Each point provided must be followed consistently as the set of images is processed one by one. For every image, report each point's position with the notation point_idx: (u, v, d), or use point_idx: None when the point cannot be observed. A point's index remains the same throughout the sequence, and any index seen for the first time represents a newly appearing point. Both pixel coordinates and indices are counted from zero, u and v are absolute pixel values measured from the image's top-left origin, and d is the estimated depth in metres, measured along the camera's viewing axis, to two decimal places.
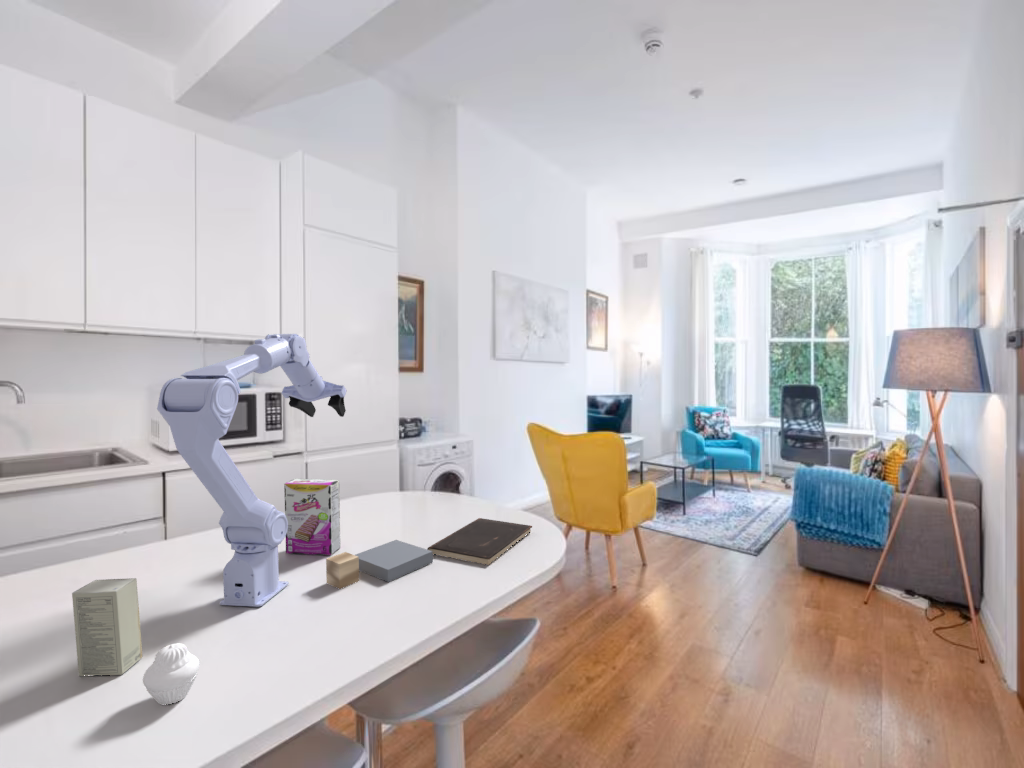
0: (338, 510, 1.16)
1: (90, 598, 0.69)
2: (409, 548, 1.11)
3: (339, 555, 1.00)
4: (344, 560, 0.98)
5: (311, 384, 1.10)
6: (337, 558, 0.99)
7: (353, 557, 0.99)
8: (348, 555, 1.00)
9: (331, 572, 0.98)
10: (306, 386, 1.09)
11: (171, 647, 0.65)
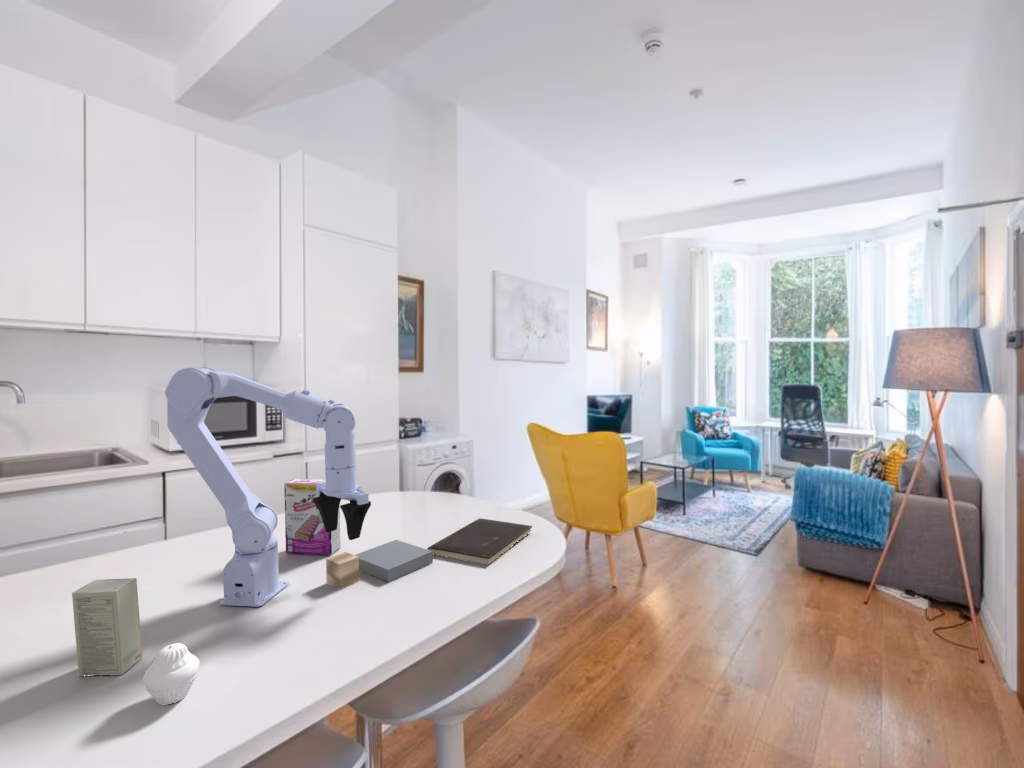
0: None
1: (90, 598, 0.69)
2: (409, 548, 1.11)
3: (339, 555, 1.00)
4: (344, 560, 0.98)
5: (338, 472, 0.96)
6: (337, 558, 0.99)
7: (354, 557, 0.99)
8: (348, 555, 1.00)
9: (331, 572, 0.98)
10: (332, 470, 0.96)
11: (171, 647, 0.65)
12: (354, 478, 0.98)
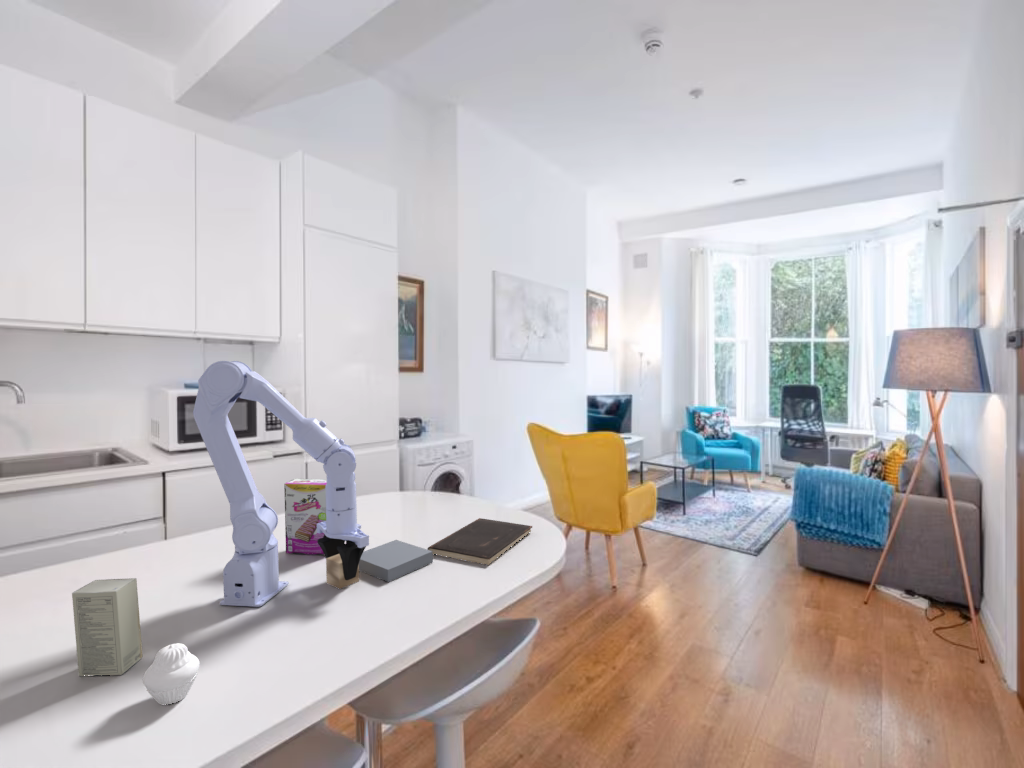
0: None
1: (90, 598, 0.69)
2: (409, 548, 1.11)
3: (339, 555, 1.00)
4: None
5: (339, 514, 0.96)
6: (337, 558, 0.99)
7: None
8: None
9: (331, 572, 0.98)
10: (333, 512, 0.96)
11: (171, 647, 0.65)
12: (355, 519, 0.98)
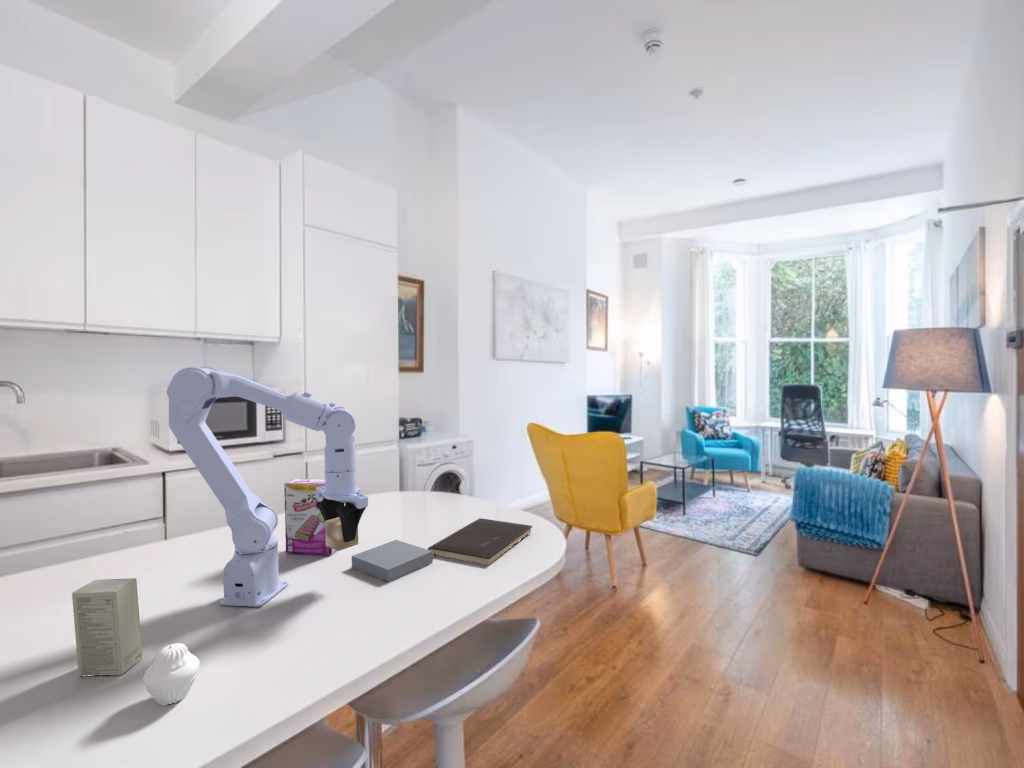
0: None
1: (90, 598, 0.69)
2: (409, 548, 1.11)
3: (338, 518, 1.00)
4: None
5: (338, 475, 0.96)
6: (336, 520, 0.99)
7: None
8: None
9: (331, 534, 0.97)
10: (332, 474, 0.96)
11: (171, 647, 0.65)
12: (354, 481, 0.98)
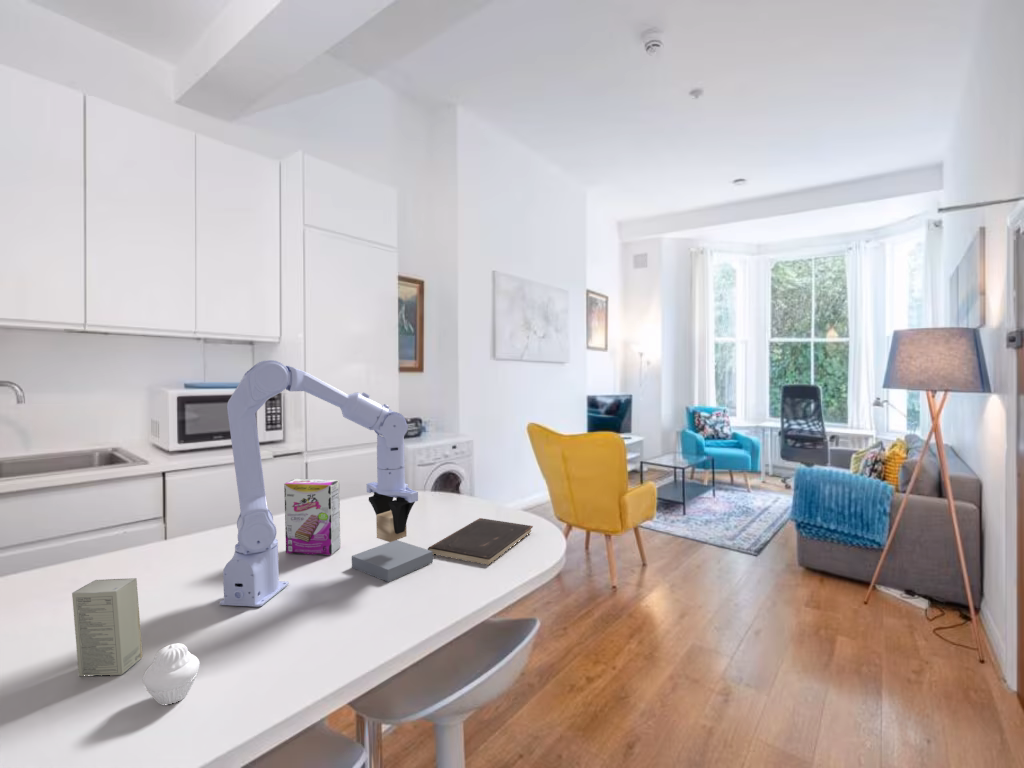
0: (338, 510, 1.16)
1: (90, 598, 0.69)
2: (409, 548, 1.11)
3: (387, 512, 1.08)
4: None
5: (390, 472, 1.04)
6: (386, 514, 1.07)
7: None
8: None
9: (382, 527, 1.06)
10: (385, 471, 1.04)
11: (171, 647, 0.65)
12: (403, 478, 1.06)
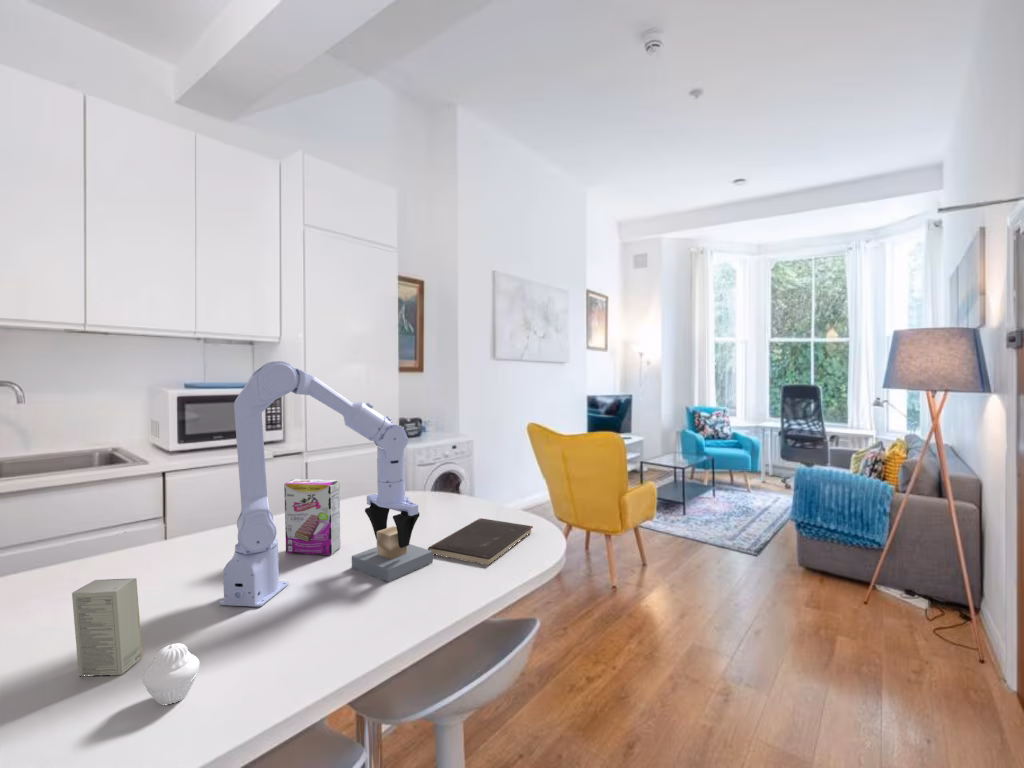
0: (338, 510, 1.16)
1: (90, 598, 0.69)
2: (409, 548, 1.11)
3: (388, 528, 1.08)
4: (393, 533, 1.06)
5: (390, 485, 1.04)
6: (387, 531, 1.07)
7: None
8: (396, 528, 1.08)
9: (382, 544, 1.06)
10: (385, 483, 1.04)
11: (171, 647, 0.65)
12: (404, 490, 1.06)
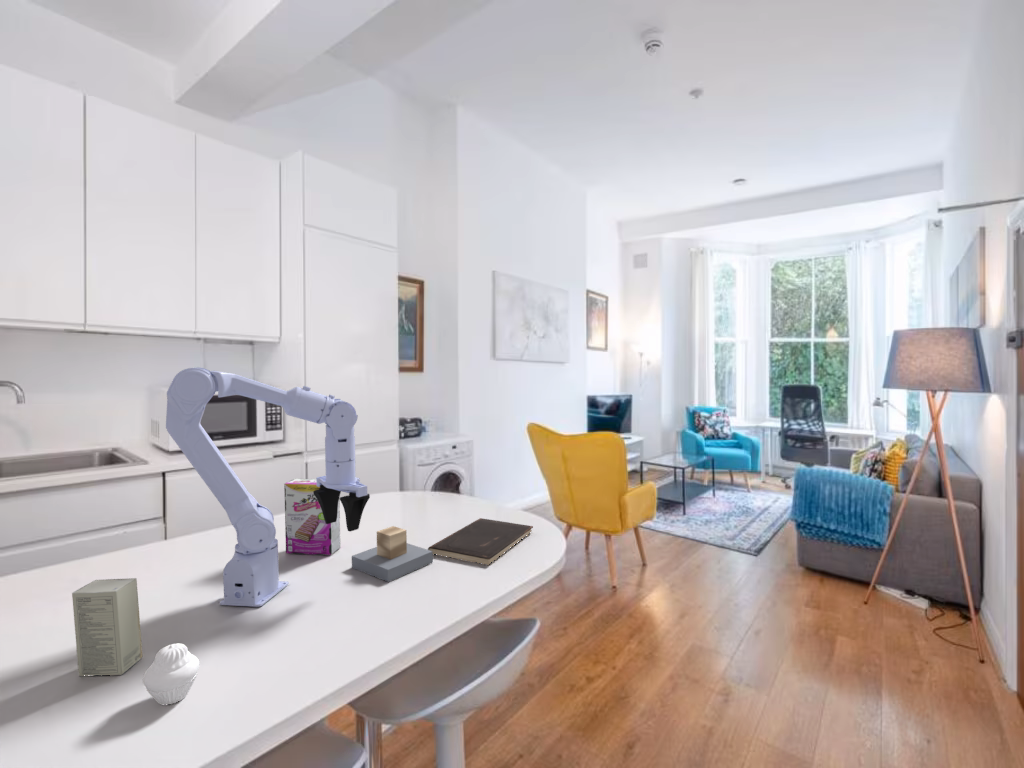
0: (338, 510, 1.16)
1: (90, 598, 0.69)
2: (409, 548, 1.11)
3: (388, 528, 1.08)
4: (393, 533, 1.06)
5: (338, 465, 0.98)
6: (387, 531, 1.07)
7: (402, 530, 1.07)
8: (396, 528, 1.08)
9: (382, 544, 1.06)
10: (332, 463, 0.98)
11: (171, 647, 0.65)
12: (353, 471, 1.01)
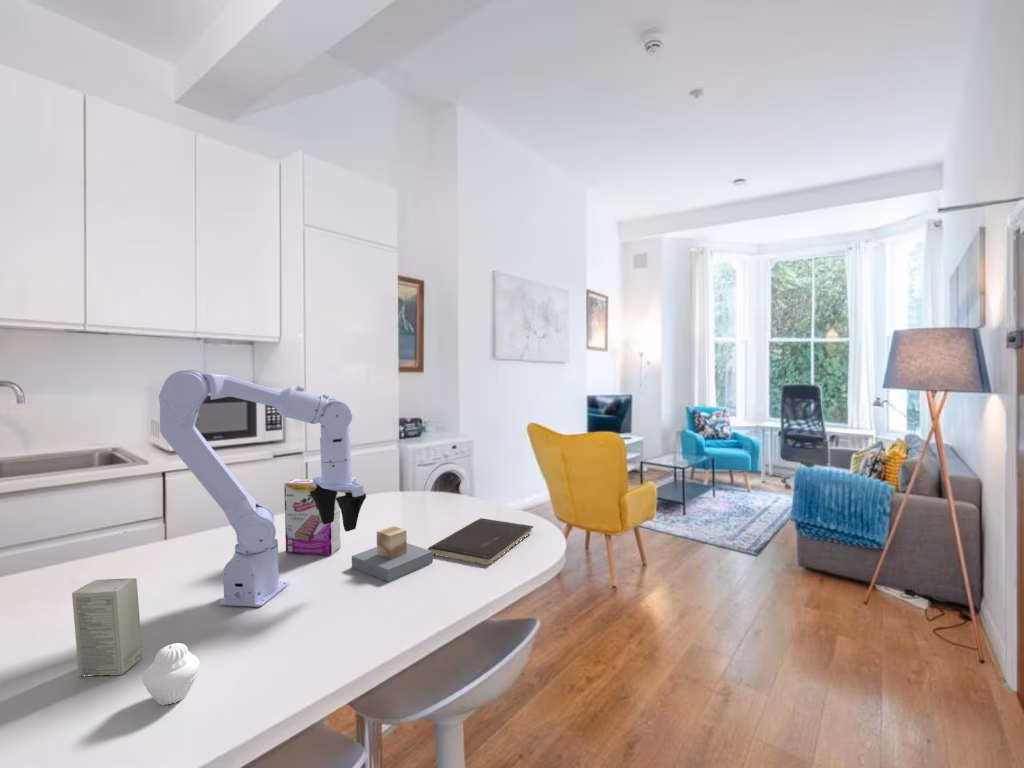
0: (338, 510, 1.16)
1: (90, 598, 0.69)
2: (409, 548, 1.11)
3: (388, 528, 1.08)
4: (393, 533, 1.06)
5: (334, 465, 0.98)
6: (387, 531, 1.07)
7: (402, 530, 1.07)
8: (396, 528, 1.08)
9: (382, 544, 1.06)
10: (328, 464, 0.98)
11: (171, 647, 0.65)
12: (349, 471, 1.00)
